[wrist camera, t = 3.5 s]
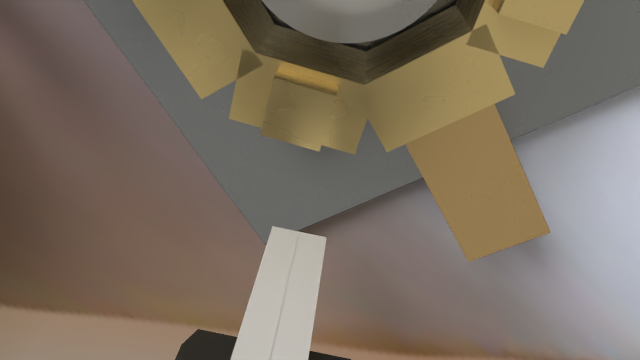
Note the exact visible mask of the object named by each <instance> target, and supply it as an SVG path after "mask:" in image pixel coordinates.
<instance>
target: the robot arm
mask: <svg viewBox="0 0 640 360" xmlns="http://www.w3.org/2000/svg"><path fill="white" fill-rule="evenodd" d="M326 238H327V237H323V236H318V235H313V234H308V233H303V232H298V231H294V230H289V229H284V228H279V227H274V226H272V229H271V233H270V236H269V239H268V242H267V245H266V248H265V252H264V255H263V258H262V261H261V264H260V267H259V271H258V274H257V277H256V280H255V283H254V286H253V290H252V293H251V296H250V299H249V302H248V306H247V309H246V312H245V315H244V318H243V321H242V325H241V328H240V331H239V334H238V337H234V336H229V335H224V334H219V333H214V332H209V331H205V330H200V329H198V330H197V331H196V332H195V333H194V334H192V336H190V337H189V338H188V339H187V340H186V341H185V342H184V343H183V344H182V345H181V347H180V350H179V352H178V354H177V357H176V359H175V360H351V359H347V358H342V357H337V356H332V355H328V354H322V353H318V352H313V351H310V345H311V338H312V331H313V325H314V318H315V311H316V305H317V298H318V291H319V285H320V278H321V271H322V265H323V258H324V251H325V245H326Z"/></svg>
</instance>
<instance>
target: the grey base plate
mask: <svg viewBox="0 0 640 360" xmlns="http://www.w3.org/2000/svg"><path fill="white" fill-rule="evenodd" d="M84 1H85V3H86V4H87V6H88V7H89V8H90V10H91V11H92V12H93V14H94V15H95V16H96V18H97V19H98V20H99V22H100V23H101V24H102V26H103V27H104V28H105V30H106V31H107V32H108V34H109V35H110V37H111V38H112V39H113V41H114V42H115V43H116V45H117V46H118V47H119V49H120V50H121V51H122V53H123V54H124V55H125V57H126V58H127V59H128V61H129V62H130V63H131V65H132V66H133V67H134V69H135V70H136V72H137V73H138V74H139V76H140V77H141V78H142V80H143V81H144V82H145V84H146V85H147V86H148V88H149V89H150V90H151V92H152V93H153V94H154V96H155V97H156V98H157V100H158V101H159V103H160V104H161V105H162V107H163V108H164V109H165V111H166V112H167V113H168V115H169V116H170V117H171V119H172V120H173V121H174V123H175V124H176V125H177V127H178V128H179V129H180V131H181V132H182V134H183V135H184V136H185V138H186V139H187V140H188V142H189V143H190V144H191V146H192V147H193V148H194V150H195V151H196V152H197V154H198V155H199V156H200V158H201V159H202V160H203V162H204V163H205V164H206V166H207V167H208V169H209V170H210V171H211V173H212V174H213V175H214V177H215V178H216V179H217V181H218V182H219V183H220V185H221V186H222V187H223V189H224V190H225V191H226V193H227V194H228V195H229V197H230V198H231V200H232V201H233V202H234V204H235V205H236V206H237V208H238V209H239V210H240V212H241V213H242V214H243V216H244V217H245V218H246V220H247V221H248V222H249V224H250V225H251V226H252V228H253V229H254V231H255V232H256V233H257V235H258V236H259V237H260V239H261V240H262V241H263V243H264V244H267V242H268V239H269V236H270V233H271V229H272V226H274V227H279V228H284V229H289V230H294V231H298V230H300V229H302V228H305V227H307V226H310V225H312V224H314V223H317V222H319V221H321V220H324V219H326V218H328V217H331V216H333V215H335V214H338V213H340V212H343V211H345V210H347V209H350V208H352V207H354V206H357V205H359V204H361V203H364V202H366V201H368V200H371V199H373V198H376V197H378V196H380V195H383V194H385V193H387V192H390V191H392V190H394V189H397V188H399V187H401V186H404V185H406V184H409V183H411V182H413V181H416V180H418V179H420V178H423V176H422V175H421V173H420V171H419V169H418V167H417V165H416V163H415V162H414V160H413V158H412V156H411V154H410V152H409V150H408V148H407V147H406V145H405V144H404V145H402V146H400V147H398V148H395V149H393V150H391V151H389V152H386V150H385V148H384V146H383V145H382V143H381V141H380V139H379V137H378V136H377V134H376V132H375V130H374V129H373V127H372V125H371V123H370V121H369V120H368V118H367V121H366V124H365V127H364V130H363V132H362V135H361V138H360V141H359V144H358V147H357V150H356V153H355V155H354V154H351V153H347V152H344V151H340V150H337V149H333V148H330V147H326V146H323V145H321V148H320V151H315V150H312V149H308V148H305V147H301V146H298V145H294V144H291V143H287V142H284V141H280V140H277V139H273V138H270V137H266V136H262V135H260V133H261V129H262V128H260V127H256V126H253V125H249V124H246V123H242V122H239V121H235V120H232V119H229V115H230V110H231V105H232V100H233V94H234V89H235V84H236V80H235V81H234V82H232V83H230V84H228V85H226V86H225V87H223V88H221V89H219V90H217V91H216V92H214V93H212V94H210V95H208V96H207V97H205V98H203V99H201V98H200V97H199V95H198V94H197V92H196V91H195V89H194V88H193V87H192V85H191V84H190V82H189V81H188V79H187V78H186V77H185V75H184V74H183V72H182V71H181V69H180V68H179V67H178V65H177V64H176V62H175V61H174V59H173V58H172V57H171V55H170V54H169V52H168V51H167V50H166V48H165V47H164V45H163V44H162V42H161V41H160V40H159V38H158V37H157V35H156V34H155V32H154V31H153V30H152V28H151V27H150V25H149V24H148V22H147V21H146V20H145V18H144V17H143V15H142V14H141V12H140V11H139V10H138V8H137V7H136V5H135V4H134V2H133V1H132V0H84ZM261 2H262V4H263V5H264V7H265V9H266V10H267V12H268V14H269V16H270V17H271V19H272V21H273V22H274V24H275V25H278V26H281V27H285V28H288V29H291V30H295V31H298V32H301V33H304V34H306V35H308V36H311V37H314V38H317V39H320V40H325V41H329V42H335V43H338V44H342V45H345V46H349V47H352V48H355V49H359V50H362V51H365V52H367V51H369V50H371V49H372V48H374V47H376V46H378V45H380V44H382V43H384V42H386V41H388V40H390V39H391V38H393V37H395V36H397V35H399V34H401V33H403V32H405V31H407V30H409V29H410V28H412V27H414V26H416V25H418V24H420V23H422V22H424V21H426V20H428V19H429V18H431V17H433V16H435V15H437V14H439V13H441V12H443V11H445V10H447V9H448V8H450V7H452V6H454V5H455V4H456V2H457V0H261ZM500 58H501V60H502V63H503V65H504V68H505V70H506V72H507V75H508V77H509V80H510V82H511V85H512V87H513V89H514V92H515V95H513V96H511V97H508V98H506V99H504V100H502V101H499V102H497V103H495V106H496V109H497V111H498V113H499V115H500V118H501V120H502V122H503V125H504V127H505V129H506V131H507V134H508V136H509V138H510V140H512V139H515V138H517V137H519V136H522V135H524V134H526V133H529V132H531V131H533V130H536V129H538V128H541V127H543V126H545V125H548V124H550V123H552V122H555V121H557V120H559V119H562V118H564V117H566V116H569V115H571V114H574V113H576V112H578V111H581V110H583V109H585V108H588V107H590V106H592V105H595V104H597V103H599V102H602V101H604V100H607V99H609V98H611V97H614V96H616V95H618V94H621V93H623V92H625V91H628V90H630V89H632V88H635V87H637V86H640V0H584V2H583V4H582V6H581V8H580V10H579V12H578V13H577V15H576V17H575V19H574V21H573V23H572V25H571V27H570V29H569V31H568V33H567V35H566V34H562V33H561V34H560V36H559V38H558V40H557V42H556V44H555V46H554V48H553V50H552V52H551V54H550V56H549V58H548V60H547V62H546V64H545V66H544V68H542V67H539V66H535V65H532V64H529V63H525V62H522V61H519V60H515V59H512V58H509V57H505V56H502V55H500Z"/></svg>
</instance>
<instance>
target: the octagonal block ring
mask: <svg viewBox="0 0 640 360" xmlns="http://www.w3.org/2000/svg"><path fill="white" fill-rule="evenodd" d="M132 1H133V2H134V4H135V5H136V7H137V8H138V10H139V11H140V12H141V14H142V15H143V17H144V18H145V20H146V21H147V22H148V24H149V25H150V27H151V28H152V30H153V31H154V32H155V34H156V35H157V37H158V38H159V40H160V41H161V42H162V44H163V45H164V47H165V48H166V50H167V51H168V52H169V54H170V55H171V57H172V58H173V59H174V61H175V62H176V64H177V65H178V67H179V68H180V69H181V71H182V72H183V74H184V75H185V77H186V78H187V79H188V81H189V82H190V84H191V85H192V87H193V88H194V89H195V91H196V92H197V94H198V95H199V97H200V98H201V99H203V98H205V97H207V96H208V95H210V94H212V93H214V92H216V91H217V90H219V89H221V88H223V87H225V86H226V85H228V84H230V83H232V82H234V81H235V80H236V84H235V89H234V94H233V100H232V105H231V110H230V115H229V119H232V120H235V121H239V122H242V123H246V124H249V125H253V126H256V127H260V128H262V129H261V133H260V135H262V136H266V137H270V138H273V139H277V140H280V141H284V142H287V143H291V144H294V145H298V146H301V147H305V148H308V149H312V150H315V151H320V148H321V145H323V146H326V147H330V148H333V149H337V150H340V151H344V152H347V153H351V154H354V155H355V153H356V150H357V147H358V144H359V141H360V138H361V135H362V132H363V130H364V127H365V124H366V121H367V118H368V120H369V121H370V123H371V125H372V127H373V129H374V130H375V132H376V134H377V136H378V137H379V139H380V141H381V143H382V145H383V146H384V148H385V150H386V152H389V151H391V150H393V149H395V148H398V147H400V146H402V145H404V144H405V145H406V147H407V148H408V150H409V152H410V154H411V156H412V158H413V160H414V162H415V163H416V165H417V167H418V169H419V171H420V173H421V175H422V176H423V178H424V180H425V182H426V184H427V186H428V188H429V189H430V191H431V193H432V195H433V197H434V199H435V201H436V202H437V204H438V206H439V208H440V210H441V212H442V214H443V215H444V217H445V219H446V221H447V223H448V225H449V227H450V228H451V230H452V232H453V234H454V236H455V238H456V240H457V241H458V243H459V245H460V247H461V249H462V251H463V253H464V254H465V256H466V258H467V260H468V262H469V261H472V260H475V259H478V258H481V257H483V256H486V255H489V254H492V253H494V252H497V251H500V250H503V249H506V248H508V247H511V246H514V245H517V244H520V243H522V242H525V241H528V240H531V239H534V238H536V237H539V236H542V235H545V234H548V233H550V230H549V228H548V226H547V223H546V221H545V219H544V216H543V214H542V212H541V209H540V207H539V205H538V203H537V200H536V198H535V196H534V193H533V191H532V189H531V187H530V184H529V182H528V180H527V177H526V175H525V173H524V170H523V168H522V166H521V164H520V161H519V159H518V157H517V154H516V152H515V150H514V148H513V145H512V143H511V141H510V138H509V136H508V134H507V131H506V129H505V127H504V125H503V122H502V120H501V118H500V115H499V113H498V111H497V109H496V106H495V103H497V102H499V101H502V100H504V99H506V98H508V97H511V96H513V95H515V92H514V89H513V87H512V85H511V82H510V80H509V77H508V75H507V72H506V70H505V68H504V65H503V63H502V60H501V58H500V55H502V56H505V57H509V58H512V59H515V60H519V61H522V62H525V63H529V64H532V65H535V66H539V67H542V68H544V66H545V64H546V62H547V60H548V58H549V56H550V54H551V52H552V50H553V48H554V46H555V44H556V42H557V40H558V38H559V36H560V34H561V33H562V34H566V35H567V33H568V31H569V29H570V27H571V25H572V23H573V21H574V19H575V17H576V15H577V13H578V12H579V10H580V8H581V6H582V4H583V2H584V0H457V2H456V4H455V5H454V6H452V7H450V8H448V9H447V10H445V11H443V12H441V13H439V14H437V15H435V16H433V17H431V18H429V19H428V20H426V21H424V22H422V23H420V24H418V25H416V26H414V27H412V28H410V29H409V30H407V31H405V32H403V33H401V34H399V35H397V36H395V37H393V38H391V39H390V40H388V41H386V42H384V43H382V44H380V45H378V46H376V47H374V48H372V49H371V50H369V51H367V52H365V51H362V50H359V49H355V48H352V47H349V46H345V45H342V44H338V43H335V42H329V41H325V40H320V39H317V38H314V37H311V36H308V35H306V34H304V33H301V32H298V31H295V30H291V29H288V28H285V27H281V26H278V25H275V24H274V22H273V21H272V19H271V17H270V16H269V14H268V12H267V10H266V9H265V7H264V5H263V4H262V2H261V0H132Z"/></svg>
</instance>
